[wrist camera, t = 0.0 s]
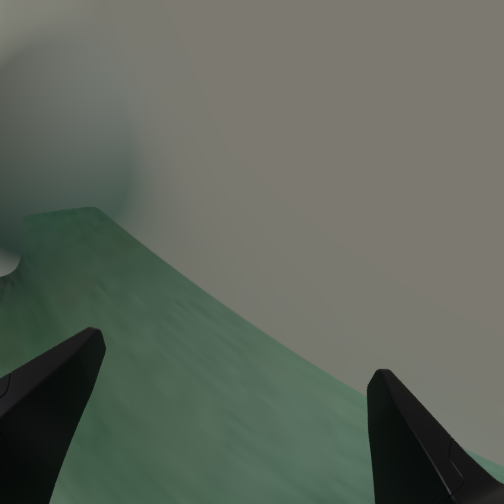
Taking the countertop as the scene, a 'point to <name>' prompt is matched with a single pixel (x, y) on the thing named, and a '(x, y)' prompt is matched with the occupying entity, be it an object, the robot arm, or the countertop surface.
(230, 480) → the countertop surface
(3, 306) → the countertop surface
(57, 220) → the countertop surface
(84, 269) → the countertop surface
